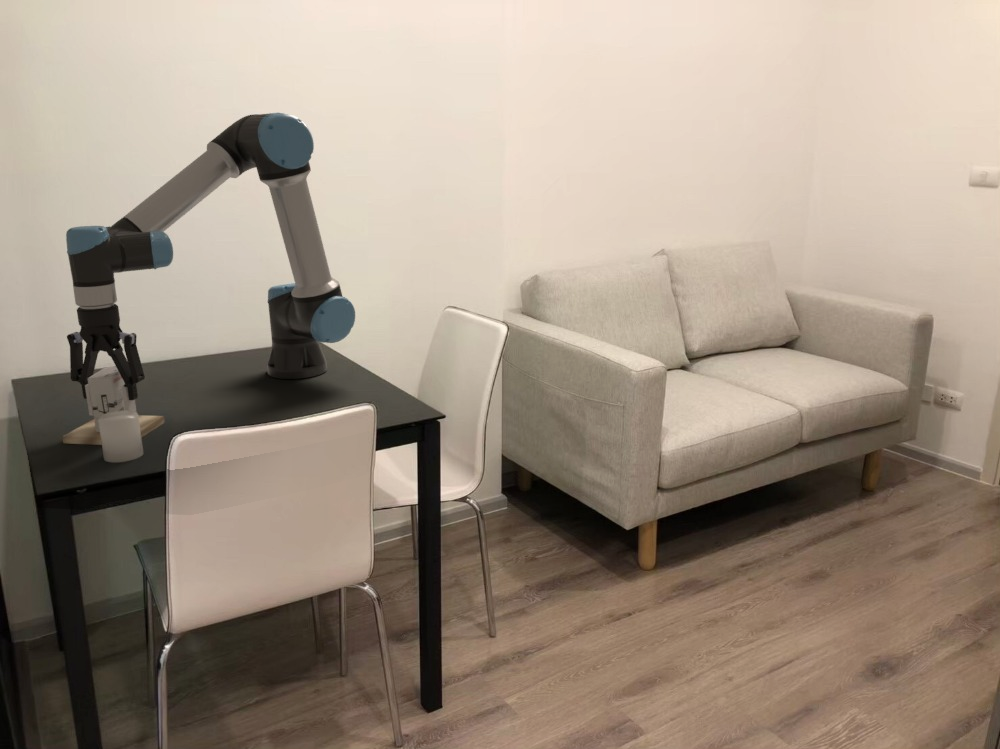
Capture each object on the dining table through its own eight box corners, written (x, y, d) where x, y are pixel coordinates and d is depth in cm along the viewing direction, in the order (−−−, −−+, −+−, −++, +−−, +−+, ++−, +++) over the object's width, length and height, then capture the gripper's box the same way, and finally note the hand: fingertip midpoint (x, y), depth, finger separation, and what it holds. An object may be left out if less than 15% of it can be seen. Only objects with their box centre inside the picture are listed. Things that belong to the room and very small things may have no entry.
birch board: (164, 422, 179) (163, 416, 179) (128, 445, 166) (127, 438, 165) (104, 420, 181) (103, 414, 181) (63, 443, 168) (62, 436, 167)
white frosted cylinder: (150, 449, 164) (145, 411, 162) (130, 463, 157) (125, 423, 155) (117, 448, 165) (111, 410, 162) (96, 461, 158) (90, 421, 156)
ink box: (112, 419, 177) (104, 365, 174) (136, 418, 177) (128, 365, 174) (94, 433, 169) (85, 377, 166) (119, 432, 169) (110, 376, 166)
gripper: (154, 302, 168) (168, 409, 175) (62, 300, 171) (78, 406, 177) (134, 309, 161) (149, 421, 167) (37, 308, 164) (56, 418, 170)
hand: (113, 413), depth 172 cm, fingers open, 7 cm apart
